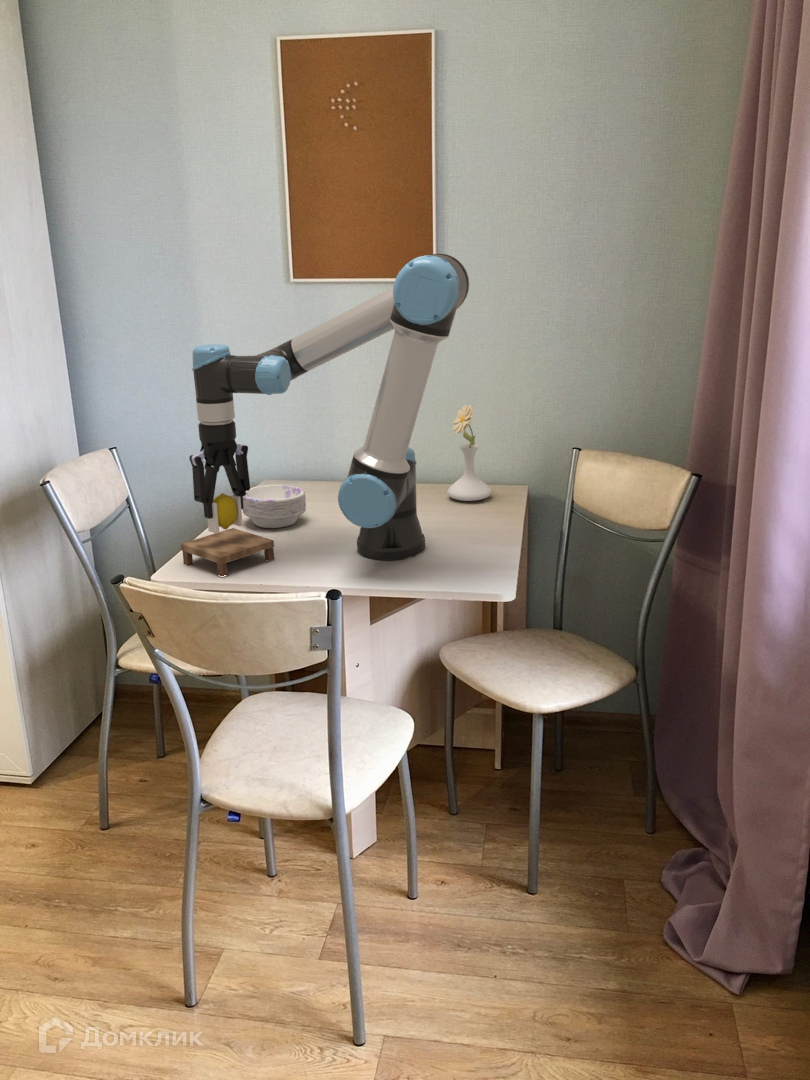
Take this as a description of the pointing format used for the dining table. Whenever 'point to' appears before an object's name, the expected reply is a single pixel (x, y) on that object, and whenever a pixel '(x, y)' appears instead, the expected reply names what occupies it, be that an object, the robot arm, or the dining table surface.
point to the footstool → (227, 548)
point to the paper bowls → (274, 505)
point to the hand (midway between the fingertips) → (225, 528)
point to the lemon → (225, 510)
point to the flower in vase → (468, 463)
